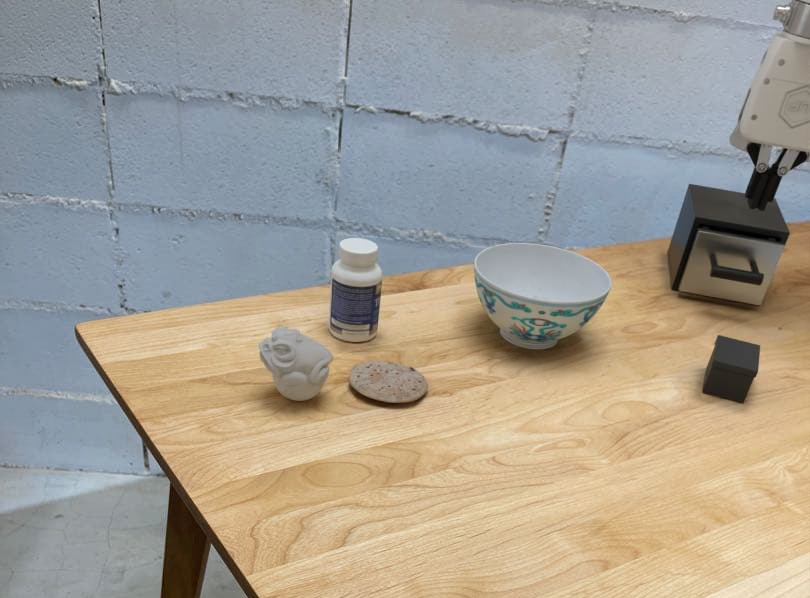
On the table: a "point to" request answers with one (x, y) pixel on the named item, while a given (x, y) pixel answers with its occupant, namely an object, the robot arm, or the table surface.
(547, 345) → the chinaware
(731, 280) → the drawer
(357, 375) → the flatbread
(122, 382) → the table surface
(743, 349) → the dark grey block
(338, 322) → the pill bottle
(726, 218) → the cabinet
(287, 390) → the frog figurine
